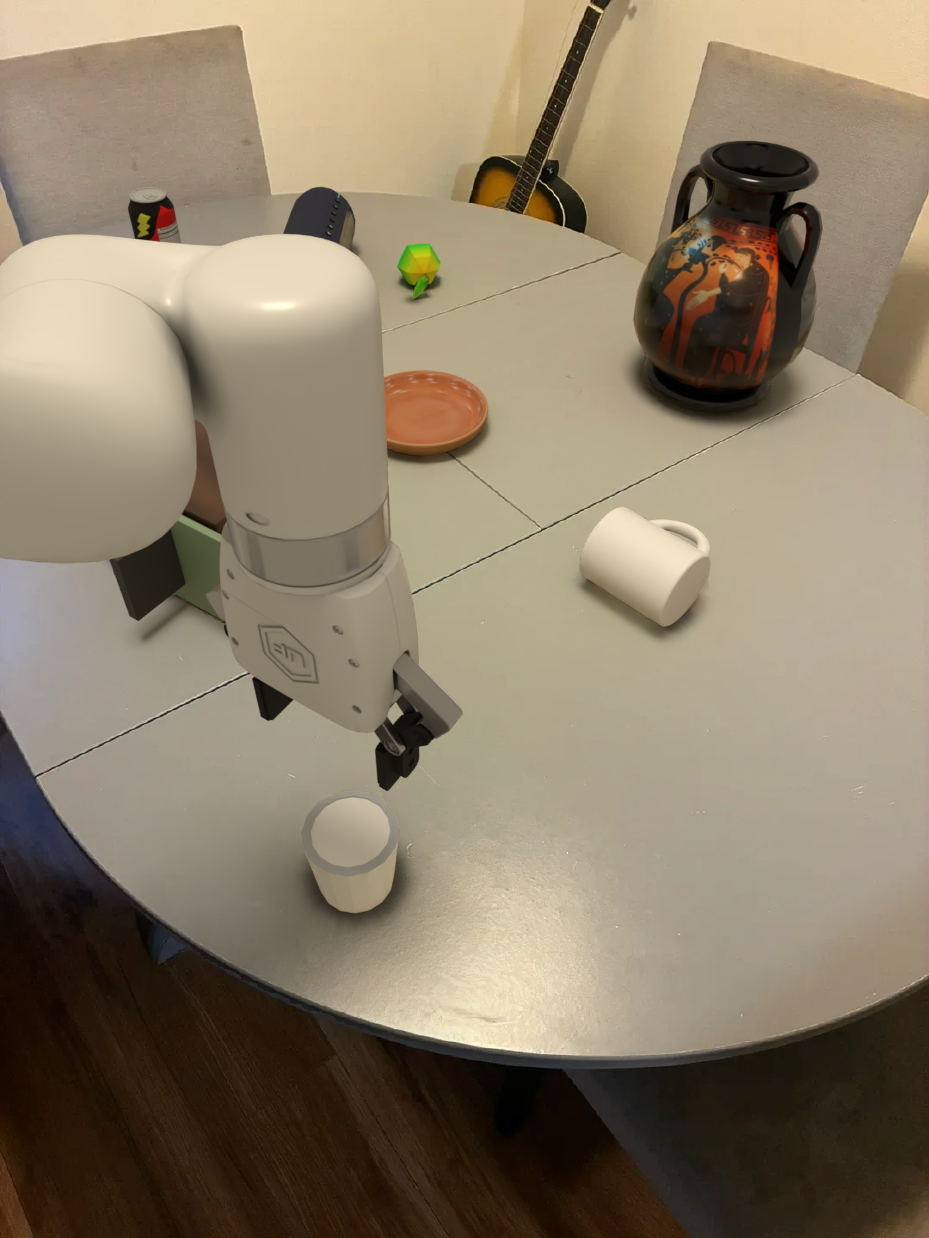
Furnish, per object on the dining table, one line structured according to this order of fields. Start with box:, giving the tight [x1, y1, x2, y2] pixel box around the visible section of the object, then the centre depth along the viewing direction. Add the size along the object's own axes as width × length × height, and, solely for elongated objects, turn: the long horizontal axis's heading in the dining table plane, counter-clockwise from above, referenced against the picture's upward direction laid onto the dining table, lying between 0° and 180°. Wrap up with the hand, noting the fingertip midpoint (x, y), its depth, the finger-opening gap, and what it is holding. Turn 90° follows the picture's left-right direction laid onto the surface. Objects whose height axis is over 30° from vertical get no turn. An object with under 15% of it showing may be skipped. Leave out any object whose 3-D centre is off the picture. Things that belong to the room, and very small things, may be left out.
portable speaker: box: [282, 186, 356, 251], centre depth 131 cm, size 25×10×10 cm, turn 179°
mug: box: [578, 506, 712, 627], centre depth 87 cm, size 12×10×8 cm
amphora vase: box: [632, 140, 824, 416], centre depth 107 cm, size 22×22×28 cm
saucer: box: [384, 369, 489, 457], centre depth 108 cm, size 16×16×3 cm
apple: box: [396, 243, 441, 301], centre depth 132 cm, size 7×6×9 cm
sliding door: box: [108, 515, 225, 622], centre depth 80 cm, size 7×10×11 cm
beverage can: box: [127, 186, 182, 244], centre depth 129 cm, size 6×6×12 cm
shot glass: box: [301, 789, 400, 914], centre depth 65 cm, size 7×7×7 cm
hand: (338, 736), depth 54 cm, fingers open, 8 cm apart
